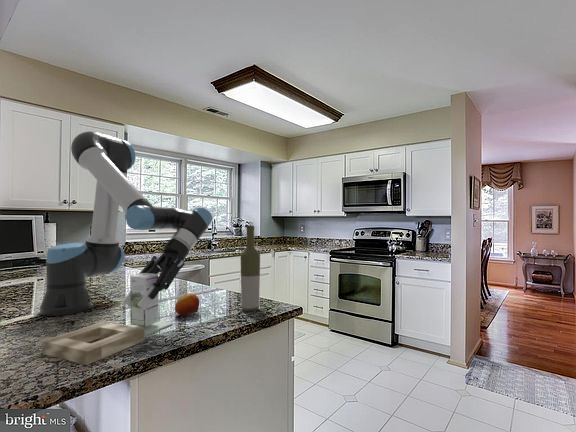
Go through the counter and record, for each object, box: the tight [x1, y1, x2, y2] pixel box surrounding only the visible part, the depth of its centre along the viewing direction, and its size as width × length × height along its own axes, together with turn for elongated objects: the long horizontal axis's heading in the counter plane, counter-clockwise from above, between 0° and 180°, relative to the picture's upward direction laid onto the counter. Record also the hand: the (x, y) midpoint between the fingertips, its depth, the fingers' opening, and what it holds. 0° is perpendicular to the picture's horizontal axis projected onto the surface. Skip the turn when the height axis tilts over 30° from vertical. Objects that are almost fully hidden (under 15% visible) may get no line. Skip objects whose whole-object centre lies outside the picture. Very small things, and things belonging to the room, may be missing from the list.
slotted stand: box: [41, 321, 146, 366], centre depth 83 cm, size 16×16×3 cm
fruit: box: [174, 293, 200, 317], centre depth 112 cm, size 8×8×8 cm
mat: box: [126, 320, 173, 337], centre depth 97 cm, size 11×11×1 cm
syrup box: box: [129, 272, 160, 326], centre depth 97 cm, size 6×6×14 cm
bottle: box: [240, 225, 261, 312], centre depth 117 cm, size 7×7×30 cm
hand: (133, 305), depth 94 cm, fingers closed on syrup box, 7 cm apart
